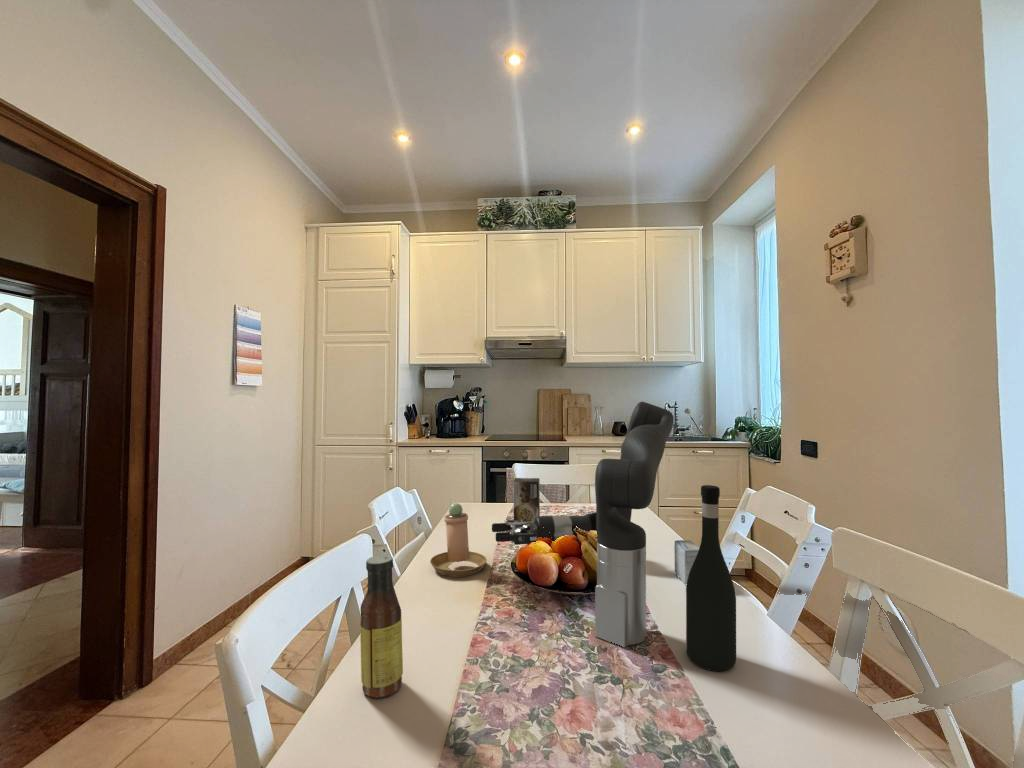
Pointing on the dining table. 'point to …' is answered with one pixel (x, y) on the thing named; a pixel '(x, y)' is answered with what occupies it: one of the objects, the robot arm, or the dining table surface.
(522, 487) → the coffee box
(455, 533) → the pepper mill
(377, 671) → the sauce bottle
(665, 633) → the dining table surface
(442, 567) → the plant saucer
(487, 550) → the dining table surface
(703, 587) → the wine bottle
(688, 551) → the medicine box
